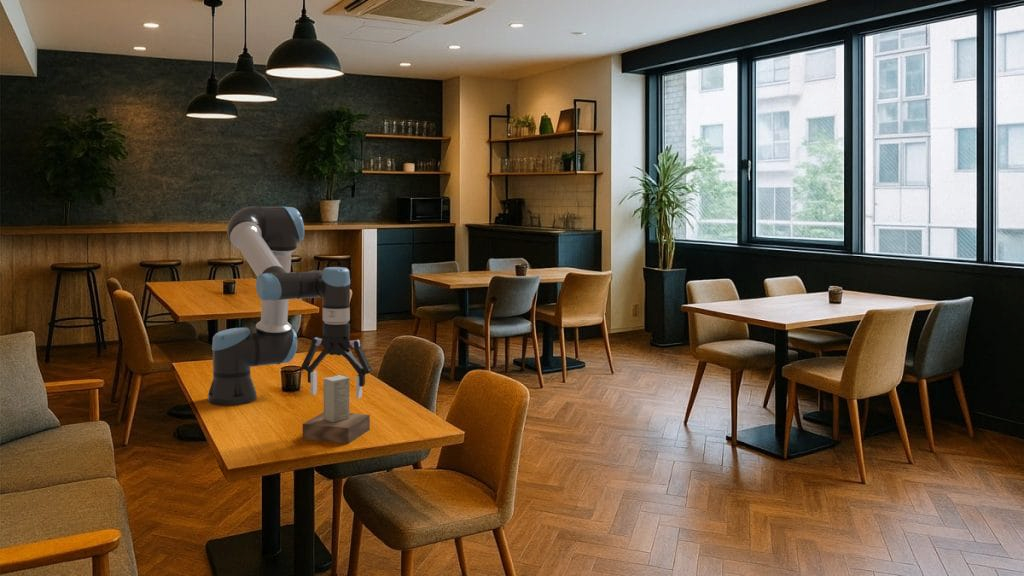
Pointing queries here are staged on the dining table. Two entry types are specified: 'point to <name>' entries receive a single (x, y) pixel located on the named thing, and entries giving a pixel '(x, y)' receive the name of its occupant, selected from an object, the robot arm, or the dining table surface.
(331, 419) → the skincare box
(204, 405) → the dining table surface
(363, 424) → the plate
